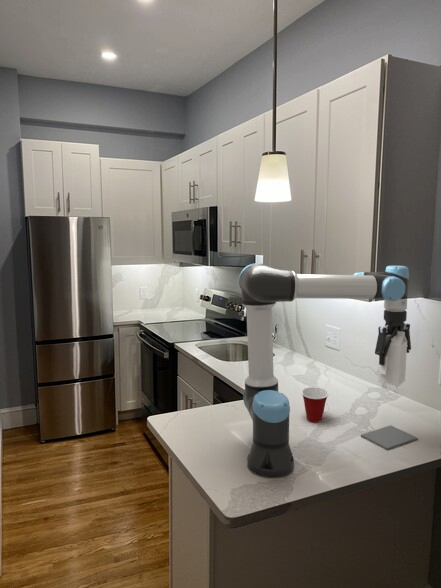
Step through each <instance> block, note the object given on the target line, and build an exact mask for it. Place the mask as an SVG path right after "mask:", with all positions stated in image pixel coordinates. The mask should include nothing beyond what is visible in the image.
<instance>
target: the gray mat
mask: <svg viewBox="0 0 441 588" xmlns="http://www.w3.org/2000/svg"><path fill="white" fill-rule="evenodd" d="M360 437H361V438H363V439H365V440H367V441H369V442H371V443H373V444H374V445H375V446H378V447H380V448H382V449H384V450H386V451H389V450H392V449H395V448H398V447H400V446H403V445H407V444H409V443H411V442H415V441H417V440H418V438H419V437H417V436H415V435H413V434H410V433H408V432H406V431H404V430H402V429H400V428H398V427H395V426H393V425H391V424H390V425H388V426H384V427H381V428H378V429H375V430H371V431H368V432H365V433H362V434H360Z"/></svg>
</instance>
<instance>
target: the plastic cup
mask: <svg viewBox="0 0 441 588" xmlns="http://www.w3.org/2000/svg"><path fill="white" fill-rule="evenodd" d="M300 392H301V395H302V399H303V404H304V411H305V416H306V420H307V421H308V422H310V423H313V424H314V423H315V424H316V423H320V422H322V420H323V415H324V413H325V412H324V410H325V406H326V402H327V398H328V397H329V395H330V393H329V391H328V390H327V389H325V388H322V387H319V386H307V387H304V388H303V389H302V390H301V391H300Z"/></svg>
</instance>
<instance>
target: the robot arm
mask: <svg viewBox="0 0 441 588" xmlns="http://www.w3.org/2000/svg"><path fill="white" fill-rule="evenodd" d="M409 270H410V269H409V268H408V267H407V266H406V265H387V266H386V267H385V271H361V272H355V273H354V274H320V273H319V274H318V273H317V274H315V273H314V274H308V273H302V274H301V273H295V271H294V270H283V269H279V268H278V269H277V268H275V267H271V266H267V265H266V264H264V263H258V262H256V263H251V264H249V265H246V266H245V267H244V268H243V269H242V270H241V272H240V274H239V276H238V285H239V289H240V291H241V295H240V296H241V305H242V306H243V307H244V308H245V309H246V331H247V332H246V333H247V337H246V338H247V356H248V358H247V359H248V365H247V366H248V376H247V377H246V378H245V380H244V389H243V393H242V399H243V404H244V406H245V408H246V410H247V412H248V414H249V416H250V418H251V420H252V443H251V446H250V450H249V453H248V455H247V457H246V460H247V463H246V465H247V466H246V467H247V469H249V471H250V472H252V473H253V474H255V475H257V476H259V477H265V478H270V479H271V478H282V477H286V476H288V475H289V474H291V473H292V472H293V471H294V468H295V459H294V456H293V452H292V450H291V447H290V414H291V413H290V412H291V406H290V401H289V400H290V399H289V398H288V396H286V395H285V394H284V393H283V392H279V380H278V378H277V377H276V376H274V375H275V374H274V348H273V345H274V344H273V342H274V341H273V307H274V306H275V305H276V304H277V303H279V302H280V303H282V302H283V303H286V302H294V300H296V299H337V300H338V299H340V300H341V299H342V300H344V299H345V300H346V299H347V300H350V299H353V300H355V299H356V300H357V299H358V300H360V299H361V300H366V299H367V300H368V299H370V300H384V303H383V308H384V310H383V320H384V321H385V323H384V326H378V329H377V330H378V335H377V340H376V345H375V350H374V354H375V355H377V356H379V358H378V360H379V361H378V366H379V365H380V368H379V367H378V374H379V373H381V374H384V375H387V362H388V357H387V356H386V354H387V352H388V349H389V346H390V343H391V341H392V340H391V339H392V338H393V337H394V336H396V335H397V331H402V332H405V337H406V339H407V354H409V353H410V351H411V350H412V345H411V344H412V343H411V333H410V328H411V324H410V323H406V321H407V315H408V313H407V311H406V310H407V309H408V294H409V281H410V273H409ZM389 335H391V336H389ZM383 352H384V353H383Z"/></svg>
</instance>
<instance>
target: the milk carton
mask: <svg viewBox="0 0 441 588" xmlns="http://www.w3.org/2000/svg"><path fill="white" fill-rule="evenodd" d="M389 336H391V335H389ZM391 340H392V341H391V343H390V346H389V349H388V352H387V354H386V356H387V357H388V362H387V375H384V374H381V373H379V372H378V383H381V384H387V385H391V386H395V387H400V385H402V384H403V383H404V382H406V369H407V368H406V367H407V354H408V353H407V346H408V345H407V339H406V337H405V332H402V331H397V335H396V336H394V337H393V338H392V339H391ZM383 353H384V352H383ZM379 368H380V365H379V364H378V369H379Z"/></svg>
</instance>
